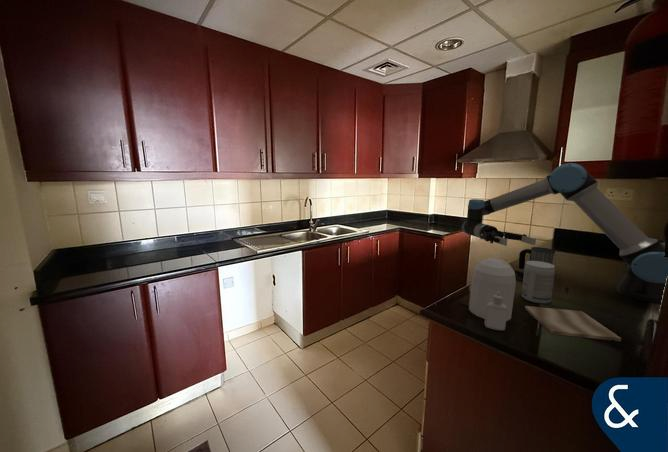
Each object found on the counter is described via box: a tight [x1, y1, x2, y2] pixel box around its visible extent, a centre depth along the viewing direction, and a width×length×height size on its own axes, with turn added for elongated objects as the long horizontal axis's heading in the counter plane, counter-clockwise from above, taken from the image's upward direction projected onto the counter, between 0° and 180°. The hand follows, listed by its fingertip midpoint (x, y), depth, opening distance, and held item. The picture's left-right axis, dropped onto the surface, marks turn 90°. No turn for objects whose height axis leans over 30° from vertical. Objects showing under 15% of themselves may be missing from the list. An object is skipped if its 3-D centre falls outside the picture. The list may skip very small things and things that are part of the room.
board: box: [524, 305, 622, 342], centre depth 89 cm, size 18×17×1 cm
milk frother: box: [514, 246, 556, 282], centre depth 128 cm, size 14×16×15 cm
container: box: [468, 257, 517, 322], centre depth 94 cm, size 14×13×20 cm
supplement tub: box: [521, 260, 556, 304], centre depth 106 cm, size 10×10×15 cm
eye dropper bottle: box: [484, 292, 507, 331], centre depth 85 cm, size 4×6×12 cm
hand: (520, 242), depth 113 cm, fingers open, 13 cm apart
